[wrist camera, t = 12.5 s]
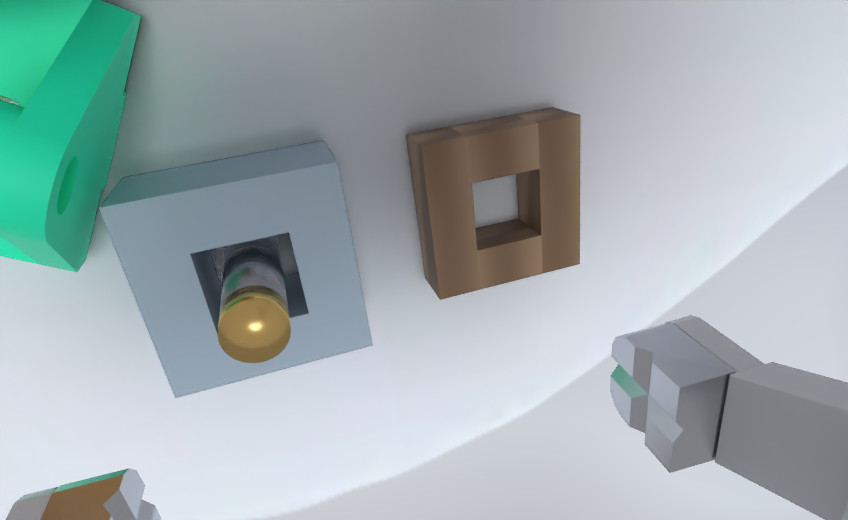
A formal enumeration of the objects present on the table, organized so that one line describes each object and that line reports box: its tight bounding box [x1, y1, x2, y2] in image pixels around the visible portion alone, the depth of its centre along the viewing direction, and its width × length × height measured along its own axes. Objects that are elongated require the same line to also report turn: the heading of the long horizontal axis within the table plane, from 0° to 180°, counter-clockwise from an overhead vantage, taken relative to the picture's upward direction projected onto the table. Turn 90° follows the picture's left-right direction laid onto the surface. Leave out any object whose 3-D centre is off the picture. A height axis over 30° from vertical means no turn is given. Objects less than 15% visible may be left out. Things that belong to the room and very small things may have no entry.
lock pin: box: [218, 235, 291, 363], centre depth 26 cm, size 3×3×10 cm
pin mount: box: [406, 107, 580, 300], centre depth 32 cm, size 9×9×3 cm
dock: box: [99, 141, 373, 398], centre depth 28 cm, size 10×10×5 cm
